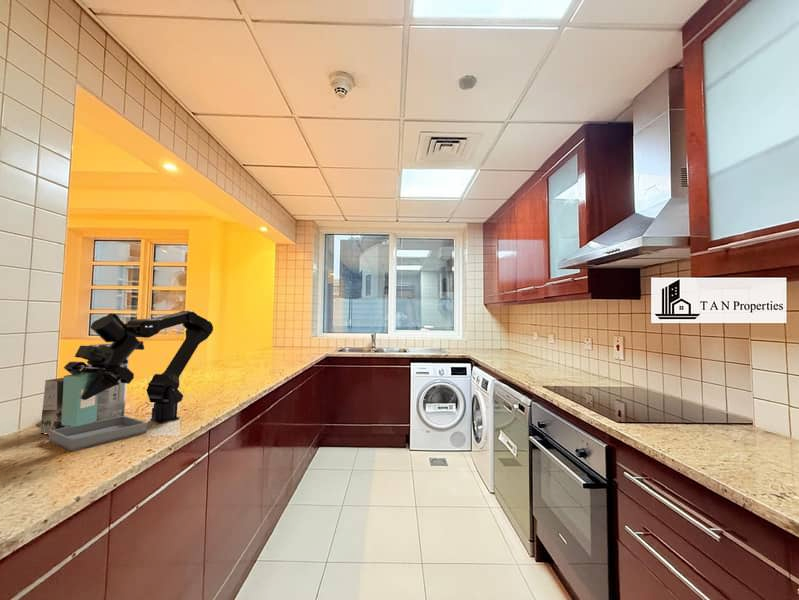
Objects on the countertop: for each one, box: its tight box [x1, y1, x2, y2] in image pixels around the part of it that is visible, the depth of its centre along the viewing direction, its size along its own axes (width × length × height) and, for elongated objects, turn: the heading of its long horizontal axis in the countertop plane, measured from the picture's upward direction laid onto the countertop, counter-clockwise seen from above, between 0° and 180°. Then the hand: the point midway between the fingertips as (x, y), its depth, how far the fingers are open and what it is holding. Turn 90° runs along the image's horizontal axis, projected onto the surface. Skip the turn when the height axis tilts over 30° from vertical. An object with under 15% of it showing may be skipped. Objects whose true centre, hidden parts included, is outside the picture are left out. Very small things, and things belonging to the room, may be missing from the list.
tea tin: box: [61, 373, 98, 427], centre depth 93 cm, size 5×5×13 cm
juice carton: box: [86, 342, 130, 422], centre depth 118 cm, size 9×10×27 cm
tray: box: [48, 415, 148, 453], centre depth 102 cm, size 18×14×3 cm
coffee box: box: [39, 377, 70, 434], centre depth 107 cm, size 9×6×16 cm
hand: (75, 398), depth 92 cm, fingers closed on tea tin, 5 cm apart
